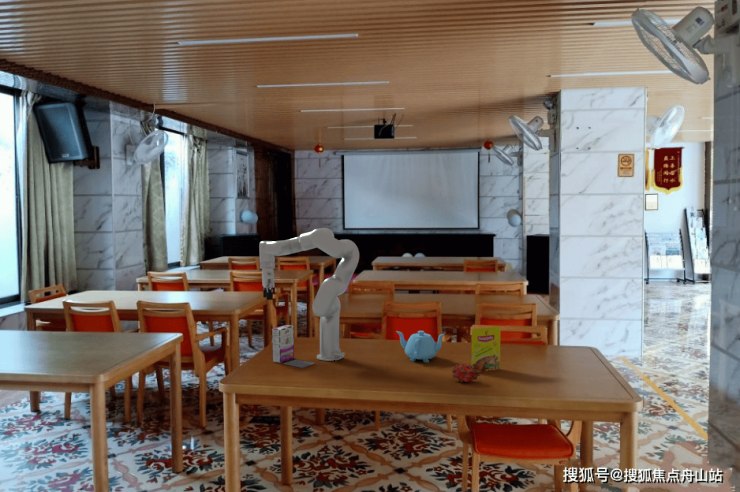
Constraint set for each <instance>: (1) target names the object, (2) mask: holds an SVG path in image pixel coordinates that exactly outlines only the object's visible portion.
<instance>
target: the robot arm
mask: <svg viewBox="0 0 740 492" xmlns="http://www.w3.org/2000/svg"><path fill="white" fill-rule="evenodd" d="M258 248H259V251H258V252H259V269H261V282H262V284H261V285H262V287H263V289H262V293H263V294H262V295H263V298H266V300H267V301H271V300H274V292H273V291H274V290H273V288H275V274H274V273H275V271H274V269H275V267H276V265H275V262H276V261H275V260H276V259H275V257H280V256H287V255H291V254H296V253H299V252H302V251H303V252H305V251H309V250H313V249H316V248H317V249H319V250H321V251H322V252H324V253H326V254H327V255H329V257H333V258H335V259H340V261H339V263H338V264H337V267H336V269H335V271H334V273H333V274H332V276H330V277H327V278H326V279H324V281H322V283H321V284H320V286H319V288H318V291H317V292H316V295H315V297H314V299H313V302H312V306H311V307H312V312H313V313H314V315H315V316H317V317H318V318H319V317H320V319H319V353H318V354H317V355H316V359H317V360H320V361H324V362H325V361H326V362H328V361H329V362H331V361H333V362H334V360H335V361H338V360H339V361H340V360H341V359H343V358H344V356H345V355H346V353H345V352H342V348H340V314H341V307H342V305H341V301H340V299H339V297H338V296H340V295H342V294H344V293H345V292H346V290H347V288H348V286H349V284H350V282H351V279H352V277H353V275H354V272H355V270H356V269H357V267H358V263H359V260H360V251H359V248H358V246H357V245H356V243H355V242H354V241H352V240H350V239H346V238H345V239H340V240H339V239H337V238H335V234H334V232H333V230H332V229H330V228H327V227H319V228H315V229H313V230H312V231H308V232H303V233H301V234H300V235H299V236H296V237H293V238H290V239H285V240H276V241H272V240H262V241H260V242H259V247H258Z"/></svg>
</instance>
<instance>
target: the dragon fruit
mask: <svg viewBox="0 0 740 492" xmlns="http://www.w3.org/2000/svg"><path fill="white" fill-rule="evenodd" d="M451 373H452V378H454V379H458V381H459V382H460V383H463V382H465V383H468V384H473V383H474V381H476V380H478V379H477V378H478V376H479V377H480V376H481V374H480V372H478V371H477V370H474V369H473V367H472V366H471V365H470V364H467V363H458V364H455V366H454V367H453V368H452V370H451Z"/></svg>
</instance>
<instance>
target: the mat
mask: <svg viewBox="0 0 740 492" xmlns="http://www.w3.org/2000/svg"><path fill="white" fill-rule="evenodd" d="M282 364H283V365H285V366H286V365H287V366H292V367H297V368H301V369H303V368H306V367H310V366H312V365H315V362H311V361H306V360H305V361H304V360H301V359H294V360H293V359H292V360H288V361H287V362H286V361H285V362H282Z"/></svg>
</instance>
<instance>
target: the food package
mask: <svg viewBox="0 0 740 492" xmlns="http://www.w3.org/2000/svg"><path fill="white" fill-rule="evenodd" d="M501 329H502V328H501V326H491V327H479V328H478V327H477V328H472V329H471V354H470V355H471V361H470V363H471V365H470V366H472V367H473V369H474V370H477V371H478V372H479V373H480V372H489V371H496V370H500V369H501ZM488 370H489V371H488Z"/></svg>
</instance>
